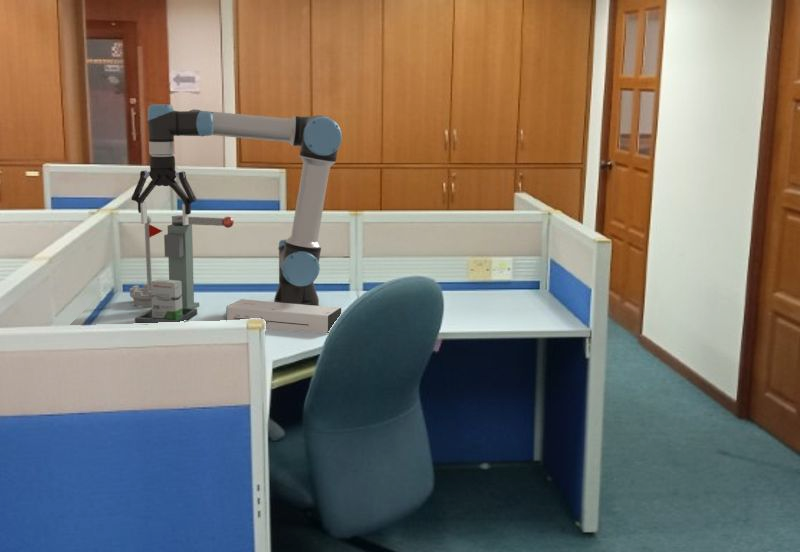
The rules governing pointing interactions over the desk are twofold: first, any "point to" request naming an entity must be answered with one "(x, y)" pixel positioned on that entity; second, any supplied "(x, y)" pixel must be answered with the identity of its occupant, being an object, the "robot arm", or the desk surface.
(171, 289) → the ink box
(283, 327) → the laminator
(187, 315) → the tray
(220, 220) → the lever
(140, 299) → the flag stand
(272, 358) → the desk surface
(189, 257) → the column
